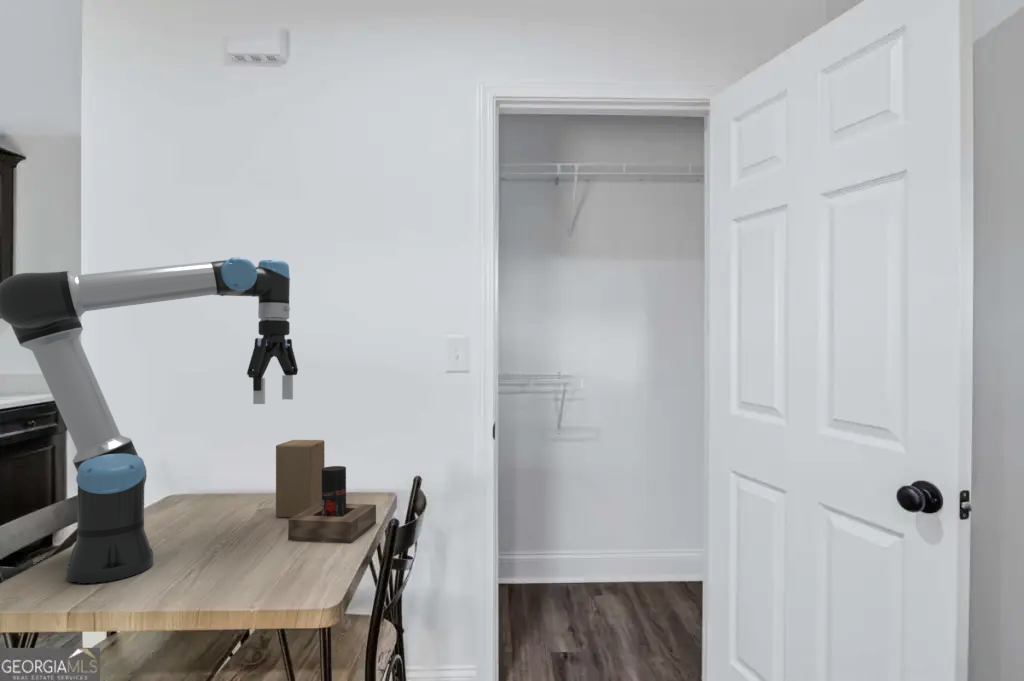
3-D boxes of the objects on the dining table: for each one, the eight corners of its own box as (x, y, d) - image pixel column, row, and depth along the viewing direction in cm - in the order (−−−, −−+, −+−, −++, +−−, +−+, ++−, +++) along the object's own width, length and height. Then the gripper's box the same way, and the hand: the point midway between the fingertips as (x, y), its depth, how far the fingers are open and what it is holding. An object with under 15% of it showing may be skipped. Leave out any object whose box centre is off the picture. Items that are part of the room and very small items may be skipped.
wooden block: (325, 508, 171) (325, 439, 171) (309, 518, 161) (309, 445, 161) (292, 508, 172) (292, 439, 172) (275, 517, 162) (275, 445, 162)
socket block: (288, 540, 142) (288, 519, 143) (319, 521, 158) (319, 502, 158) (351, 543, 140) (351, 522, 140) (376, 523, 156) (376, 504, 156)
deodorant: (351, 526, 150) (350, 467, 150) (332, 532, 145) (332, 471, 145) (335, 522, 153) (335, 465, 154) (316, 528, 148) (316, 469, 149)
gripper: (260, 317, 141) (260, 406, 140) (310, 322, 165) (310, 397, 165) (231, 317, 142) (231, 405, 141) (285, 322, 166) (285, 397, 166)
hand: (274, 401), depth 153 cm, fingers open, 13 cm apart
